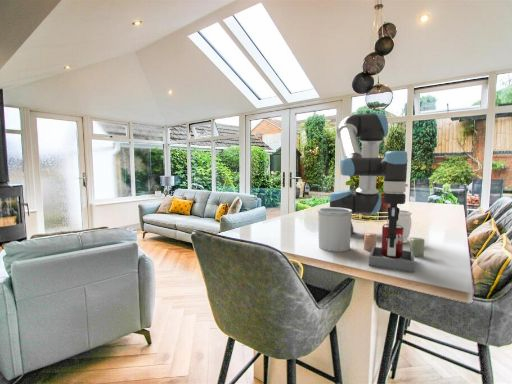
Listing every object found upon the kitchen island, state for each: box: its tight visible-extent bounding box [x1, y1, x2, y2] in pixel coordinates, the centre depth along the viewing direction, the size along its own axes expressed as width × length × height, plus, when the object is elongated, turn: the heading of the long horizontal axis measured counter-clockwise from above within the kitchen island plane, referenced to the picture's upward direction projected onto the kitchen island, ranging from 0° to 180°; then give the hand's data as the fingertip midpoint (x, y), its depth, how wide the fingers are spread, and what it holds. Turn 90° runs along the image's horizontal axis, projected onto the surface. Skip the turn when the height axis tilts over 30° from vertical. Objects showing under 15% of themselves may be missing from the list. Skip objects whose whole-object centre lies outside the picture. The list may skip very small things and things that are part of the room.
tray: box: [368, 246, 415, 274], centre depth 105 cm, size 15×15×4 cm
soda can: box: [380, 223, 404, 259], centre depth 105 cm, size 7×7×12 cm
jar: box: [386, 209, 413, 244], centre depth 137 cm, size 11×10×15 cm
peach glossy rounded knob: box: [363, 232, 378, 252], centre depth 123 cm, size 5×5×7 cm
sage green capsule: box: [409, 237, 426, 259], centre depth 114 cm, size 5×5×7 cm
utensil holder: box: [317, 206, 352, 253], centre depth 126 cm, size 15×15×18 cm
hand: (391, 252), depth 105 cm, fingers closed on soda can, 7 cm apart
